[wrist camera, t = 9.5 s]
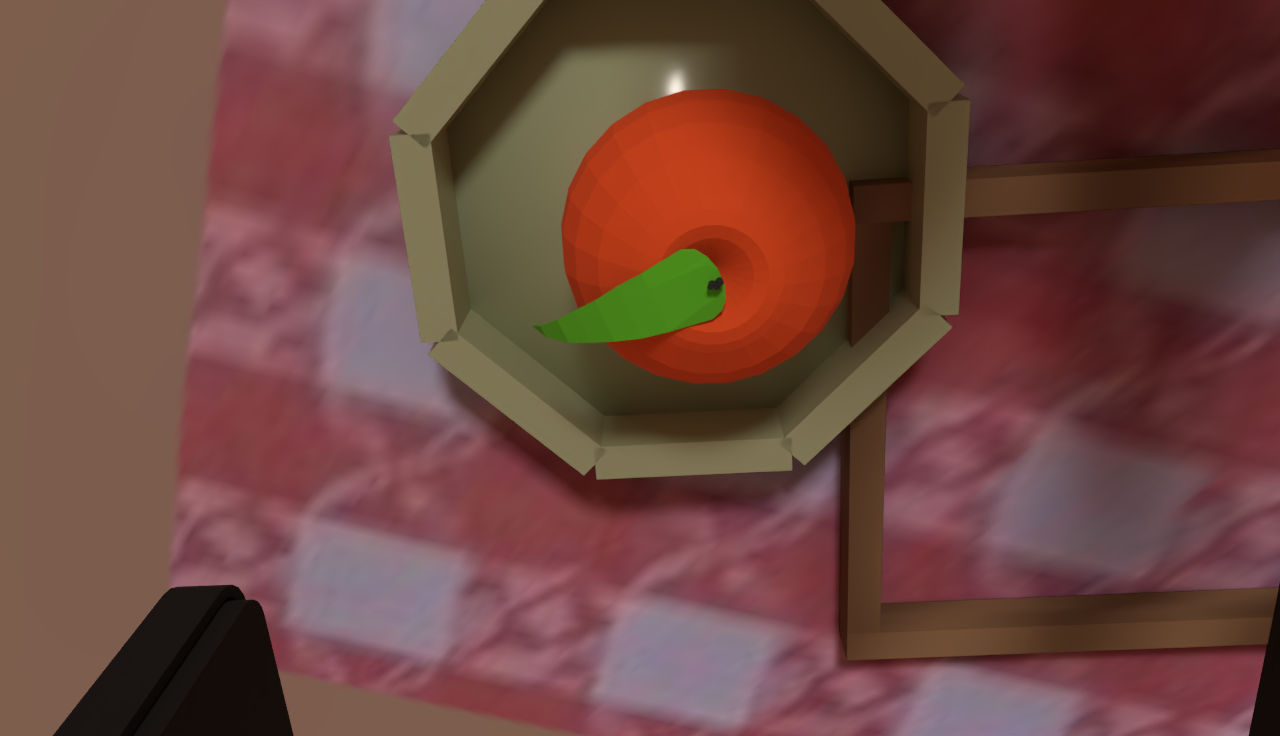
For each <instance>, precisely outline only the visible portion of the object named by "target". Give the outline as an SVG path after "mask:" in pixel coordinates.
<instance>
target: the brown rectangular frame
mask: <svg viewBox="0 0 1280 736" xmlns="http://www.w3.org/2000/svg"><path fill="white" fill-rule="evenodd" d="M849 196H850V200H851V205H852V209H853V213H854V219H855V251H854V264H853V267H852V271H851V274H850V277H849V280H848V328H847V339H848V342H849V344H850V346H851V348H852V347H853V346H854V345H855V344H856V343H857V342H858V341H859V340H861V339H862V338H863V337H864V336H865V335H866V334H867V333H868V332H869V331H870V330H871V329H872V328H873V327H874V326H875V325H876V324H877V323H878V322H879V321H880V320H881V319H882V318H883V317H884V316H885V315H886V314H887V313H889V303H890V268H891V234H892V222H897V221H911V211H912V182H911V181H910V180H909V179H908V178H907V177H900V178H883V179H866V180H849ZM1266 200H1280V149H1265V150H1248V151H1231V152H1214V153H1197V154H1180V155H1163V156H1146V157H1129V158H1112V159H1095V160H1078V161H1061V162H1045V163H1028V164H1011V165H994V166H977V167H967V173H966V191H965V209H964V218H967V217H985V216H1002V215H1020V214H1037V213H1055V212H1073V211H1090V210H1108V209H1125V208H1143V207H1160V206H1178V205H1195V204H1213V203H1231V202H1248V201H1266ZM886 407H887V389H886V390H885V391H884V392H883V393H882V394H881V395H880V396H879V397H877V398H876V399H875V400H874V401H873V402H872V403H871V404H870V405H869V406H868V407H867V408H866V409H865V410H864V411H862V412H861V413H860V414H859V415H858V416H857V417H856V418H855V419H854V420H853V421H852V422H851V423H850V424H849V425H847V426H846V427H845V428H844V429H843V430H842V444H841V535H840V626H839V631H840V635H841V639H842V643H843V647H844V651H845V654H846V658H847V660H871V659H897V658H923V657H949V656H975V655H1001V654H1026V653H1052V652H1078V651H1104V650H1130V649H1156V648H1182V647H1208V646H1234V645H1260V644H1268V639H1269V634H1270V629H1271V624H1272V619H1273V614H1274V609H1275V604H1276V599H1277V594H1278V590H1279V587H1276V588H1252V589H1227V590H1203V591H1179V592H1154V593H1130V594H1105V595H1081V596H1056V597H1032V598H1007V599H983V600H958V601H934V602H910V603H885V604H881V579H882V545H883V510H884V476H885V441H886Z"/></svg>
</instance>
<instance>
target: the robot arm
mask: <svg viewBox="0 0 1280 736" xmlns="http://www.w3.org/2000/svg"><path fill="white" fill-rule="evenodd" d="M53 736H293V732H292V728H291V723H290V719H289V715H288V711H287V707H286V703H285V699H284V694H283V690H282V686H281V682H280V678H279V674H278V669H277V665H276V661H275V657H274V653H273V649H272V645H271V640H270V636H269V632H268V628H267V624H266V620H265V616H264V612H263V610H262V607H261V605H260V604H259V603H258V601H255V600H245V597H244V594H243V593H242V592H241V590H240V589H239V588H238V587H236V586H234V585H215V586H188V587H175V588H171V589H169V590H168V591H167V592H166V593H165V594H164V595H163V596H162V597H161V599H160V600H159V601H158V603H157V604H156V605H155V606H154V608H153V609H152V610H151V611H150V613H149V614H148V615H147V617H146V618H145V619H144V620H143V622H142V623H141V624H140V626H139V627H138V628H137V629H136V630H135V632H134V633H133V634H132V636H131V637H130V638H129V639H128V641H127V642H126V643H125V644H124V646H123V647H122V648H121V650H120V651H119V652H118V653H117V655H116V656H115V657H114V659H113V660H112V661H111V662H110V664H109V665H108V666H107V667H106V669H105V670H104V671H103V673H102V674H101V675H100V676H99V678H98V679H97V680H96V681H95V683H94V684H93V685H92V687H91V688H90V689H89V690H88V692H87V693H86V694H85V695H84V697H83V698H82V699H81V701H80V702H79V703H78V704H77V706H76V707H75V708H74V709H73V711H72V712H71V713H70V715H69V716H68V717H67V718H66V720H65V721H64V722H63V724H62V725H61V726H60V727H59V729H58V730H57V731H56V733H55V734H54V735H53ZM1249 736H1280V585H1279V590H1278V594H1277V599H1276V604H1275V609H1274V614H1273V619H1272V624H1271V629H1270V634H1269V639H1268V644H1267V649H1266V654H1265V658H1264V663H1263V668H1262V673H1261V678H1260V683H1259V688H1258V693H1257V698H1256V703H1255V708H1254V713H1253V717H1252V722H1251V727H1250V732H1249Z"/></svg>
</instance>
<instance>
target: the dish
mask: <svg viewBox="0 0 1280 736" xmlns="http://www.w3.org/2000/svg"><path fill="white" fill-rule="evenodd" d="M965 86H966V85H965V84H964V83H963V82H962V81H961V80H960V79H959V78H958V77H957V76H956V75H955V74H954V73H953V72H952V71H951V70H950V69H949V68H948V67H947V66H946V65H945V64H944V63H943V62H942V61H941V60H940V59H939V58H938V57H937V56H936V55H935V54H934V53H933V52H932V51H931V50H930V49H929V48H928V47H927V46H926V45H925V44H924V43H923V42H922V41H921V40H920V39H919V38H918V37H917V36H916V35H915V34H914V33H913V32H912V31H911V30H910V29H909V28H908V27H907V26H906V25H905V24H904V23H903V22H902V21H901V20H900V19H899V18H898V17H897V16H896V15H895V14H894V13H893V12H892V11H891V10H890V9H889V8H888V7H887V6H886V5H885V4H884V3H883V2H882V1H881V0H486V1H485V2H484V3H483V5H482V6H481V7H480V9H479V10H478V11H477V13H476V14H475V15H474V16H473V18H472V19H471V20H470V22H469V23H468V24H467V25H466V27H465V28H464V29H463V31H462V32H461V33H460V35H459V36H458V37H457V38H456V40H455V41H454V42H453V44H452V45H451V46H450V47H449V49H448V50H447V51H446V53H445V54H444V55H443V56H442V58H441V59H440V60H439V62H438V63H437V64H436V66H435V67H434V68H433V69H432V71H431V72H430V73H429V75H428V76H427V77H426V78H425V80H424V81H423V82H422V84H421V85H420V86H419V88H418V89H417V90H416V91H415V93H414V94H413V95H412V97H411V98H410V99H409V100H408V102H407V103H406V104H405V106H404V107H403V108H402V109H401V111H400V112H399V113H398V115H397V116H396V117H395V119H394V120H393V122H394V123H395V124H396V125H397V126H399V127H400V129H398V130H397V131H396V132H394V133H393V134H391V135H390V136H389V139H390V146H391V152H392V159H393V165H394V172H395V178H396V185H397V191H398V198H399V204H400V211H401V217H402V224H403V230H404V237H405V243H406V249H407V256H408V262H409V269H410V275H411V282H412V288H413V295H414V301H415V308H416V314H417V321H418V327H419V334H420V340H421V343H429V342H435V343H434V345H433V347H432V349H431V350H430V352H429V354H428V355H429V356H430V357H431V358H433V359H434V360H435V361H437V362H438V363H439V364H440V365H442V366H443V367H444V368H446V369H447V370H448V371H449V372H451V373H452V374H453V375H455V376H456V377H457V378H458V379H460V380H461V381H462V382H464V383H465V384H466V385H467V386H469V387H470V388H471V389H473V390H474V391H475V392H476V393H478V394H479V395H480V396H482V397H483V398H484V399H486V400H487V401H488V402H489V403H491V404H492V405H493V406H495V407H496V408H497V409H498V410H500V411H501V412H502V413H504V414H505V415H506V416H507V417H509V418H510V419H511V420H513V421H514V422H515V423H516V424H518V425H519V426H520V427H522V428H523V429H524V430H525V431H527V432H528V433H529V434H531V435H532V436H533V437H534V438H536V439H537V440H538V441H540V442H541V443H542V444H544V445H545V446H546V447H547V448H549V449H550V450H551V451H553V452H554V453H555V454H556V455H558V456H559V457H560V458H562V459H563V460H564V461H565V462H567V463H568V464H569V465H571V466H572V467H573V468H574V469H576V470H577V471H578V472H580V473H581V474H582V475H583V476H584V475H585V474H586V473H587V472H588V471H589V470H590V469H591V468H592V467H593V466H594V465H595V467H596V478H597V480H598V479H620V478H641V477H663V476H684V475H705V474H727V473H748V472H770V471H791V470H792V455H793V456H794V457H795V458H796V459H798V460H799V461H800V462H801V463H802V464H804V465H806V464H807V463H808V462H809V461H810V460H811V459H812V458H813V457H814V456H815V455H816V454H818V453H819V452H820V451H821V450H822V449H823V448H824V447H825V446H826V445H827V444H828V443H829V442H830V441H831V440H832V439H834V438H835V437H836V436H837V435H838V434H839V433H840V432H841V431H842V430H843V429H844V428H845V427H846V426H847V425H849V424H850V423H851V422H852V421H853V420H854V419H855V418H856V417H857V416H858V415H859V414H860V413H861V412H862V411H864V410H865V409H866V408H867V407H868V406H869V405H870V404H871V403H872V402H873V401H874V400H875V399H876V398H877V397H879V396H880V395H881V394H882V393H883V392H884V391H885V390H886V389H887V388H888V387H889V386H890V385H891V384H892V383H893V382H895V381H896V380H897V379H898V378H899V377H900V376H901V375H902V374H903V373H904V372H905V371H906V370H907V369H908V368H910V367H911V366H912V365H913V364H914V363H915V362H916V361H917V360H918V359H919V358H920V357H921V356H922V355H923V354H925V353H926V352H927V351H928V350H929V349H930V348H931V347H932V346H933V345H934V344H935V343H936V342H937V341H938V340H940V339H941V338H942V337H943V336H944V335H945V334H946V333H947V332H948V331H949V330H950V329H951V328H952V326H951V325H950V323H949V322H948V321H947V319H946V318H945V317H944V315H959V298H960V280H961V262H962V244H963V227H964V209H965V191H966V173H967V155H968V137H969V119H970V101H971V100H970V99H968V98H966V97H964V96H961V95H959V94H958V93H959V92H960V91H961V90H962V89H963V88H964V87H965ZM704 89H728V90H733V91H737V92H741V93H745V94H750V95H754V96H758V97H762V98H765V99H767V100H769V101H770V102H772V103H774V104H776V105H778V106H780V107H781V108H783V109H785V110H787V111H789V112H790V113H792V114H794V115H796V116H798V117H799V118H800V119H801V120H802V121H803V122H804V123H805V124H806V125H807V126H808V127H809V128H810V129H811V130H812V131H813V132H814V133H815V134H816V135H817V136H818V137H819V138H820V139H821V140H822V141H823V142H824V143H825V144H826V145H827V147H828V148H829V150H830V152H831V154H832V155H833V157H834V159H835V161H836V163H837V164H838V166H839V168H840V170H841V171H842V173H843V175H844V177H845V179H846V184H847V188H848V192H849V180H866V179H883V178H900V177H907V178H908V179H909V180H910V181H911V182H912V211H911V221H897V222H892V234H891V268H890V303H889V313H887V314H886V315H885V316H884V317H883V318H882V319H881V320H880V321H879V322H878V323H877V324H876V325H875V326H874V327H873V328H872V329H871V330H870V331H869V332H868V333H867V334H866V335H865V336H864V337H863V338H862V339H861V340H859V341H858V342H857V343H856V344H855V345H854V346H853V347H852V348H851V346H850V344H849V342H848V339H847V328H848V283H847V286H846V290H845V293H844V296H843V299H842V300H841V302H840V303H839V305H838V306H837V308H836V310H835V311H834V313H833V314H832V316H831V317H830V319H829V321H828V322H827V324H826V325H825V327H824V329H823V330H822V331H821V332H820V333H818V334H817V335H816V336H815V337H814V338H813V339H812V340H811V341H810V342H809V343H808V344H807V345H806V346H805V347H804V348H803V349H801V350H800V351H799V352H798V353H797V354H796V355H794V356H793V357H791V358H789V359H787V360H785V361H784V362H782V363H780V364H778V365H776V366H775V367H773V368H771V369H769V370H767V371H766V372H764V373H762V374H758V375H755V376H751V377H748V378H744V379H740V380H737V381H733V382H729V383H699V384H695V383H690V382H685V381H680V380H676V379H671V378H667V377H662V376H657V375H655V374H653V373H651V372H649V371H647V370H645V369H643V368H641V367H639V366H637V365H635V364H633V363H631V362H629V361H627V360H625V359H624V358H623V357H621V356H620V355H619V354H618V353H617V352H616V351H614V350H613V349H612V348H611V347H610V346H609V345H607V344H606V343H605V342H600V343H568V342H563V341H559V340H555V339H551V338H546V337H545V336H544V335H543V334H541V333H540V332H539V331H538V330H536V329H535V328H534V327H533V326H531V325H533V324H534V325H544V324H546V323H549V322H551V321H554V320H557V319H559V318H561V317H563V316H565V315H567V314H569V313H571V312H573V311H575V310H577V309H579V308H578V307H577V304H576V302H575V299H574V296H573V293H572V290H571V287H570V285H569V282H568V279H567V276H566V273H565V268H564V260H563V246H562V232H561V223H562V218H563V213H564V208H565V203H566V198H567V192H568V188H569V186H570V184H571V182H572V180H573V178H574V176H575V174H576V172H577V170H578V168H579V166H580V164H581V162H582V160H583V158H584V156H585V154H586V153H587V152H588V150H589V149H590V148H591V147H592V146H593V145H594V144H595V143H596V142H597V140H598V139H599V138H600V137H601V136H602V135H603V134H604V133H605V131H606V130H607V129H608V128H609V127H610V126H611V125H612V124H613V123H615V122H616V121H618V120H619V119H621V118H622V117H624V116H626V115H627V114H629V113H630V112H632V111H633V110H635V109H636V108H638V107H640V106H641V105H643V104H644V103H646V102H649V101H652V100H655V99H658V98H661V97H665V96H668V95H671V94H674V93H677V92H680V91H684V90H704Z"/></svg>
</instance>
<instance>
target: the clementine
mask: <svg viewBox="0 0 1280 736" xmlns="http://www.w3.org/2000/svg"><path fill="white" fill-rule="evenodd" d="M561 232H562V246H563V260H564V268H565V273H566V276H567V279H568V282H569V285H570V287H571V290H572V293H573V296H574V299H575V302H576V304H577V307H578V308H579V309H577V310H575V311H573V312H571V313H569V314H567V315H565V316H563V317H561V318H559V319H557V320H554V321H551V322H549V323H546V324H544V325H534V324H533V325H531V326H533V327H534V328H535V329H536V330H538V331H539V332H540V333H541V334H543V335H544V336H545V337H546V338H551V339H555V340H559V341H563V342H568V343H600V342H605V343H606V344H607V345H609V346H610V347H611V348H612V349H613V350H614V351H616V352H617V353H618V354H619V355H620V356H621V357H623V358H624V359H625V360H627V361H629V362H631V363H633V364H635V365H637V366H639V367H641V368H643V369H645V370H647V371H649V372H651V373H653V374H655V375H657V376H662V377H667V378H671V379H676V380H680V381H685V382H690V383H695V384H699V383H729V382H733V381H737V380H740V379H744V378H748V377H751V376H755V375H758V374H762V373H764V372H766V371H767V370H769V369H771V368H773V367H775V366H776V365H778V364H780V363H782V362H784V361H785V360H787V359H789V358H791V357H793V356H794V355H796V354H797V353H798V352H799V351H800V350H801V349H803V348H804V347H805V346H806V345H807V344H808V343H809V342H810V341H811V340H812V339H813V338H814V337H815V336H816V335H817V334H818V333H820V332H821V331H822V330H823V329H824V327H825V325H826V324H827V322H828V321H829V319H830V317H831V316H832V314H833V313H834V311H835V310H836V308H837V306H838V305H839V303H840V302H841V300H842V299H843V296H844V293H845V290H846V286H847V283H848V280H849V277H850V274H851V271H852V267H853V264H854V251H855V219H854V213H853V209H852V205H851V200H850V196H849V192H848V188H847V184H846V179H845V177H844V175H843V173H842V171H841V170H840V168H839V166H838V164H837V163H836V161H835V159H834V157H833V155H832V154H831V152H830V150H829V148H828V147H827V145H826V144H825V143H824V142H823V141H822V140H821V139H820V138H819V137H818V136H817V135H816V134H815V133H814V132H813V131H812V130H811V129H810V128H809V127H808V126H807V125H806V124H805V123H804V122H803V121H802V120H801V119H800V118H799V117H798V116H796V115H794V114H792V113H790V112H789V111H787V110H785V109H783V108H781V107H780V106H778V105H776V104H774V103H772V102H770V101H769V100H767V99H765V98H762V97H758V96H754V95H750V94H745V93H741V92H737V91H733V90H728V89H704V90H684V91H680V92H677V93H674V94H671V95H668V96H665V97H661V98H658V99H655V100H652V101H649V102H646V103H644V104H643V105H641V106H640V107H638V108H636V109H635V110H633V111H632V112H630V113H629V114H627V115H626V116H624V117H622V118H621V119H619V120H618V121H616V122H615V123H613V124H612V125H611V126H610V127H609V128H608V129H607V130H606V131H605V133H604V134H603V135H602V136H601V137H600V138H599V139H598V140H597V142H596V143H595V144H594V145H593V146H592V147H591V148H590V149H589V150H588V152H587V153H586V154H585V156H584V158H583V160H582V162H581V164H580V166H579V168H578V170H577V172H576V174H575V176H574V178H573V180H572V182H571V184H570V186H569V188H568V192H567V198H566V203H565V208H564V213H563V218H562V223H561Z"/></svg>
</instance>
